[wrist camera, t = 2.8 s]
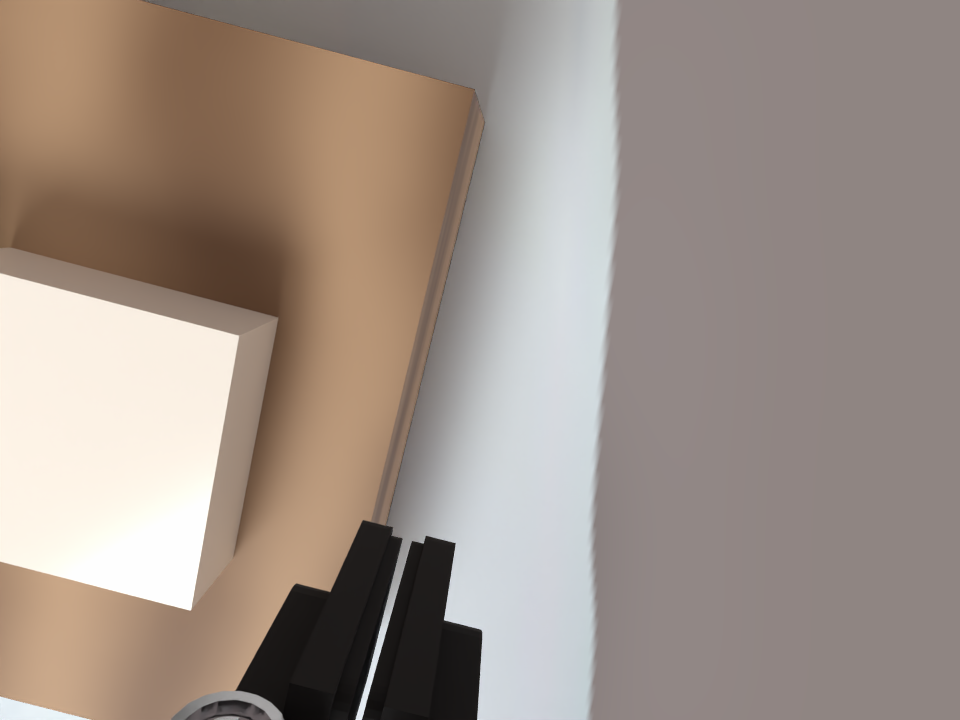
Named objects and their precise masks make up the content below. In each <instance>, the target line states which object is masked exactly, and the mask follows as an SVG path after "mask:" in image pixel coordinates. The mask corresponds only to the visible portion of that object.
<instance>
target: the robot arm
mask: <svg viewBox="0 0 960 720" xmlns="http://www.w3.org/2000/svg"><path fill="white" fill-rule="evenodd" d="M392 530H393V527H389V526H385V525H381V524H377V523H373V522H370V521H366V520H363V521H362V523H361V525H360V527H359V529H358V531H357V534H356V536H355V538H354V540H353V543H352V545H351V547H350V549H349V551H348V554H347V556H346V558H345V560H344V563H343V565H342V567H341V569H340V571H339V574H338V576H337V578H336V580H335V583H334V585H333V587H332V589H331V592H329V591H325V590H321V589H317V588H313V587H309V586H305V585H301V584H297V583H296V584H295V585H294V586H293V587H292V589H291V590H290V592H289V594H288V596H287V598H286V600H285V601H284V603H283V605H282V607H281V609H280V610H279V612H278V614H277V616H276V618H275V620H274V621H273V623H272V625H271V627H270V629H269V630H268V632H267V634H266V636H265V638H264V640H263V641H262V643H261V645H260V647H259V649H258V650H257V652H256V654H255V656H254V658H253V659H252V661H251V663H250V665H249V667H248V669H247V670H246V672H245V674H244V676H243V678H242V679H241V681H240V683H239V685H238V687H237V689H236V690H235V691H221V692H217V693H212V694H208V695H204V696H202V697H200V698H198V699H196V700H194V701H192V702H190V703H188V704H187V705H186V706H184V707H183V708H182V709H181V710H180V711H179V712H178V713H176V714H175V715H174V716H173V717H172V718H171V720H355V719H356V715H357V712H358V708H359V705H360V702H361V698H362V695H363V691H364V688H365V684H366V681H367V677H368V674H369V670H370V666H371V662H372V658H373V654H374V650H375V646H376V642H377V638H378V634H379V630H380V626H381V622H382V618H383V614H384V610H385V606H386V603H387V599H388V595H389V591H390V587H391V583H392V579H393V575H394V571H395V567H396V563H397V559H398V555H399V551H400V547H401V543H402V538H398V537H394V536H391V535H392ZM454 551H455V543H452V542H448V541H444V540H440V539H436V538H433V537H429V536H426V537H425V541H424V544H422V543H418V542H414V541H412V543H411V546H410V550H409V553H408V557H407V561H406V564H405V568H404V571H403V575H402V578H401V582H400V585H399V589H398V593H397V596H396V600H395V603H394V607H393V610H392V614H391V617H390V621H389V625H388V628H387V632H386V635H385V639H384V642H383V646H382V649H381V653H380V657H379V660H378V664H377V667H376V671H375V674H374V678H373V682H372V685H371V689H370V692H369V696H368V700H367V703H366V707H365V711H364V715H363V719H362V720H477V712H478V696H479V680H480V664H481V648H482V631H481V630H480V629H476V628H472V627H468V626H464V625H460V624H456V623H452V622H448V621H444V615H445V609H446V602H447V596H448V589H449V583H450V577H451V570H452V564H453V557H454Z"/></svg>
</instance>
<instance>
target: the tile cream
mask: <svg viewBox="0 0 960 720" xmlns="http://www.w3.org/2000/svg"><path fill="white" fill-rule="evenodd" d="M277 323H278V317H274V316H271V315H267V314H263V313H259V312H255V311H252V310H248V309H244V308H240V307H236V306H232V305H229V304H225V303H221V302H217V301H213V300H210V299H206V298H202V297H198V296H194V295H190V294H187V293H183V292H179V291H175V290H171V289H168V288H164V287H160V286H156V285H152V284H148V283H145V282H141V281H137V280H133V279H129V278H126V277H122V276H118V275H114V274H110V273H106V272H103V271H99V270H95V269H91V268H87V267H84V266H80V265H76V264H72V263H68V262H64V261H61V260H57V259H53V258H49V257H45V256H42V255H38V254H34V253H30V252H26V251H22V250H19V249H15V248H11V247H10V248H0V562H4V563H8V564H11V565H15V566H19V567H23V568H27V569H31V570H35V571H39V572H43V573H46V574H50V575H54V576H58V577H62V578H66V579H70V580H74V581H78V582H82V583H85V584H89V585H93V586H97V587H101V588H105V589H109V590H113V591H117V592H121V593H124V594H128V595H132V596H136V597H140V598H144V599H148V600H152V601H156V602H159V603H163V604H167V605H171V606H175V607H179V608H183V609H187V610H192V608H193V607H194V606H195V605H196V603H197V602H198V601H199V600H200V598H201V597H202V596H203V595H204V593H205V592H206V591H207V590H208V588H209V587H210V586H211V585H212V583H213V582H214V581H215V580H216V578H217V577H218V576H219V575H220V574H221V572H222V571H223V570H224V569H225V567H226V566H227V565H228V564H229V562H230V561H231V560H232V559H233V556H234V551H235V545H236V540H237V535H238V529H239V524H240V519H241V514H242V508H243V503H244V498H245V492H246V487H247V482H248V477H249V471H250V466H251V461H252V455H253V450H254V445H255V440H256V434H257V429H258V424H259V418H260V413H261V408H262V402H263V397H264V392H265V387H266V381H267V376H268V371H269V365H270V360H271V355H272V350H273V344H274V339H275V334H276V328H277Z"/></svg>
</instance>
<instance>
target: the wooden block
mask: <svg viewBox="0 0 960 720" xmlns="http://www.w3.org/2000/svg"><path fill="white" fill-rule="evenodd" d="M484 123H485V121H484V118H483V115H482V112H481V109H480V105H479V102H478V99H477V96H476V93H475V89H471V88H468V87H464V86H460V85H456V84H453V83H449V82H445V81H441V80H438V79H434V78H430V77H426V76H423V75H419V74H415V73H411V72H408V71H404V70H400V69H396V68H393V67H389V66H385V65H381V64H378V63H374V62H370V61H366V60H363V59H359V58H355V57H351V56H348V55H344V54H340V53H336V52H333V51H329V50H325V49H321V48H318V47H314V46H310V45H306V44H303V43H299V42H295V41H291V40H288V39H284V38H280V37H276V36H273V35H269V34H265V33H261V32H258V31H254V30H250V29H246V28H243V27H239V26H235V25H231V24H228V23H224V22H220V21H216V20H212V19H209V18H205V17H201V16H197V15H194V14H190V13H186V12H182V11H179V10H175V9H171V8H167V7H164V6H160V5H156V4H152V3H149V2H145V1H141V0H0V248H10V247H11V248H15V249H19V250H22V251H26V252H30V253H34V254H38V255H42V256H45V257H49V258H53V259H57V260H61V261H64V262H68V263H72V264H76V265H80V266H84V267H87V268H91V269H95V270H99V271H103V272H106V273H110V274H114V275H118V276H122V277H126V278H129V279H133V280H137V281H141V282H145V283H148V284H152V285H156V286H160V287H164V288H168V289H171V290H175V291H179V292H183V293H187V294H190V295H194V296H198V297H202V298H206V299H210V300H213V301H217V302H221V303H225V304H229V305H232V306H236V307H240V308H244V309H248V310H252V311H255V312H259V313H263V314H267V315H271V316H274V317H278V323H277V328H276V334H275V339H274V344H273V350H272V355H271V360H270V365H269V371H268V376H267V381H266V387H265V392H264V397H263V402H262V408H261V413H260V418H259V424H258V429H257V434H256V440H255V445H254V450H253V455H252V461H251V466H250V471H249V477H248V482H247V487H246V492H245V498H244V503H243V508H242V514H241V519H240V524H239V529H238V535H237V540H236V545H235V551H234V556H233V559H232V560H231V561H230V562H229V564H228V565H227V566H226V567H225V569H224V570H223V571H222V572H221V574H220V575H219V576H218V577H217V578H216V580H215V581H214V582H213V583H212V585H211V586H210V587H209V588H208V590H207V591H206V592H205V593H204V595H203V596H202V597H201V598H200V600H199V601H198V602H197V603H196V605H195V606H194V607H193V608H192V610H187V609H183V608H179V607H175V606H171V605H167V604H163V603H159V602H156V601H152V600H148V599H144V598H140V597H136V596H132V595H128V594H124V593H121V592H117V591H113V590H109V589H105V588H101V587H97V586H93V585H89V584H85V583H82V582H78V581H74V580H70V579H66V578H62V577H58V576H54V575H50V574H46V573H43V572H39V571H35V570H31V569H27V568H23V567H19V566H15V565H11V564H8V563H4V562H0V696H1V697H5V698H8V699H12V700H16V701H20V702H24V703H28V704H32V705H36V706H40V707H44V708H48V709H52V710H56V711H60V712H63V713H67V714H71V715H75V716H79V717H83V718H87V719H91V720H171V718H172V717H173V716H174V715H175V714H176V713H178V712H179V711H180V710H181V709H182V708H183V707H184V706H186V705H187V704H188V703H190V702H192V701H194V700H196V699H198V698H200V697H202V696H204V695H208V694H212V693H217V692H221V691H235V690H236V689H237V687H238V685H239V683H240V681H241V679H242V678H243V676H244V674H245V672H246V670H247V669H248V667H249V665H250V663H251V661H252V659H253V658H254V656H255V654H256V652H257V650H258V649H259V647H260V645H261V643H262V641H263V640H264V638H265V636H266V634H267V632H268V630H269V629H270V627H271V625H272V623H273V621H274V620H275V618H276V616H277V614H278V612H279V610H280V609H281V607H282V605H283V603H284V601H285V600H286V598H287V596H288V594H289V592H290V590H291V589H292V587H293V586H294V585H295V584H296V583H297V584H301V585H305V586H309V587H313V588H317V589H321V590H325V591H329V592H331V589H332V587H333V585H334V583H335V580H336V578H337V576H338V574H339V571H340V569H341V567H342V565H343V563H344V560H345V558H346V556H347V554H348V551H349V549H350V547H351V545H352V543H353V540H354V538H355V536H356V534H357V531H358V529H359V527H360V525H361V523H362V521H363V520H366V521H370V522H373V523H377V524H381V525H385V526H386V523H387V519H388V515H389V511H390V507H391V503H392V498H393V494H394V490H395V486H396V482H397V478H398V474H399V470H400V466H401V462H402V458H403V454H404V450H405V445H406V441H407V437H408V433H409V429H410V425H411V421H412V417H413V413H414V409H415V405H416V401H417V397H418V392H419V388H420V384H421V380H422V376H423V372H424V368H425V364H426V360H427V356H428V352H429V348H430V344H431V339H432V335H433V331H434V327H435V323H436V319H437V315H438V311H439V307H440V303H441V299H442V295H443V291H444V287H445V282H446V278H447V274H448V270H449V266H450V262H451V258H452V254H453V250H454V246H455V242H456V238H457V234H458V229H459V225H460V221H461V217H462V213H463V209H464V205H465V201H466V197H467V193H468V189H469V185H470V181H471V176H472V172H473V168H474V164H475V160H476V156H477V152H478V148H479V144H480V140H481V136H482V132H483V128H484Z"/></svg>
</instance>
